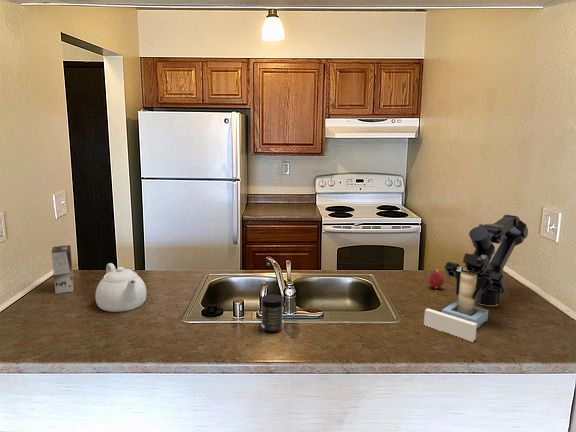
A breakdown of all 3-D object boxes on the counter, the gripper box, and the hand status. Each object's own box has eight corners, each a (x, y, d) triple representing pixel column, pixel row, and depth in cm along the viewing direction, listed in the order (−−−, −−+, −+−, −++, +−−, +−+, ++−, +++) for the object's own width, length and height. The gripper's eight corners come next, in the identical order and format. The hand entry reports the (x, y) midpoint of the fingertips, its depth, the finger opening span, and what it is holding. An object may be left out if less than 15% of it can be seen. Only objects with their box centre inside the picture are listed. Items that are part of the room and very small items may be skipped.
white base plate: (450, 310, 163) (451, 294, 162) (496, 324, 153) (498, 307, 151) (423, 327, 150) (424, 309, 148) (472, 344, 139) (474, 325, 137)
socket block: (455, 311, 161) (456, 300, 160) (487, 321, 153) (488, 310, 152) (440, 321, 153) (441, 309, 152) (473, 331, 145) (475, 319, 144)
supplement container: (286, 330, 145) (287, 299, 143) (267, 335, 142) (268, 304, 140) (275, 322, 151) (276, 292, 149) (257, 327, 147) (257, 296, 145)
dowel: (461, 309, 156) (465, 270, 153) (475, 314, 152) (479, 274, 149) (454, 314, 152) (458, 273, 150) (468, 318, 149) (473, 277, 146)
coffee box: (74, 291, 175) (70, 250, 172) (55, 294, 172) (51, 252, 169) (73, 283, 183) (70, 244, 180) (55, 285, 181) (52, 246, 177)
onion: (440, 292, 180) (442, 273, 179) (426, 289, 184) (427, 270, 182) (445, 288, 185) (447, 269, 183) (431, 285, 188) (432, 266, 186)
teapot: (156, 295, 173) (155, 260, 170) (136, 315, 155) (133, 276, 152) (109, 292, 175) (106, 258, 172) (83, 312, 157) (80, 274, 154)
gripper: (449, 238, 157) (431, 277, 151) (506, 249, 144) (489, 292, 139) (457, 256, 164) (440, 293, 158) (512, 268, 151) (496, 309, 146)
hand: (465, 296), depth 150 cm, fingers closed on dowel, 5 cm apart
